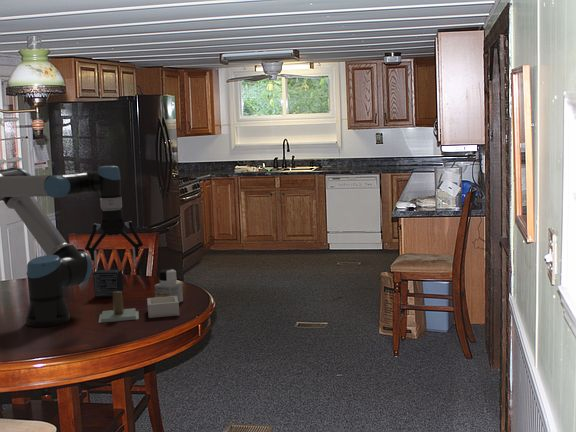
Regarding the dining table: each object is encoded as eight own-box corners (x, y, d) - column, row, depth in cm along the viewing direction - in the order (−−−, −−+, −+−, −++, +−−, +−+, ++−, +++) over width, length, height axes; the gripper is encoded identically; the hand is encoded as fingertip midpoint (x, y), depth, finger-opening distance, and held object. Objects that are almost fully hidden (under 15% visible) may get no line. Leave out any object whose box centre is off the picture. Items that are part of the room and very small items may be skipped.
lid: (101, 322, 275) (99, 297, 273) (102, 314, 286) (100, 289, 285) (135, 319, 277) (134, 294, 276) (135, 311, 289) (134, 287, 287)
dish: (148, 318, 278) (147, 305, 278) (148, 311, 289) (147, 298, 288) (179, 315, 280) (178, 302, 280) (177, 308, 291) (176, 295, 290)
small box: (124, 293, 320) (122, 268, 319) (119, 297, 314) (117, 272, 313) (99, 294, 322) (97, 269, 320) (94, 298, 315) (92, 272, 314)
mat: (98, 323, 274) (98, 322, 274) (99, 315, 286) (99, 314, 286) (138, 319, 277) (138, 319, 277) (138, 311, 289) (138, 311, 289)
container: (155, 304, 300) (153, 271, 298) (167, 299, 306) (165, 267, 305) (171, 305, 296) (169, 272, 294) (183, 301, 303) (181, 268, 301)
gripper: (74, 212, 270) (79, 272, 273) (147, 208, 275) (151, 266, 278) (76, 210, 278) (80, 268, 280) (146, 205, 283) (150, 263, 285)
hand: (115, 267), depth 279 cm, fingers open, 13 cm apart
